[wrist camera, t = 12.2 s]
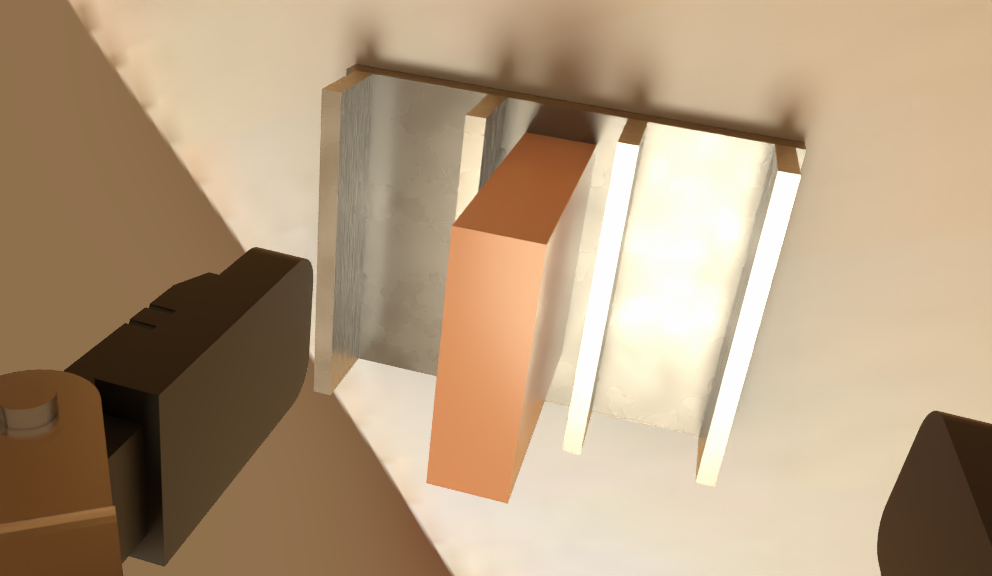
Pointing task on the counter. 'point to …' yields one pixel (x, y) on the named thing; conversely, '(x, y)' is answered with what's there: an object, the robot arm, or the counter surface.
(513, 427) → the upright orange slab
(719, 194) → the dish rack
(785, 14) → the counter surface
